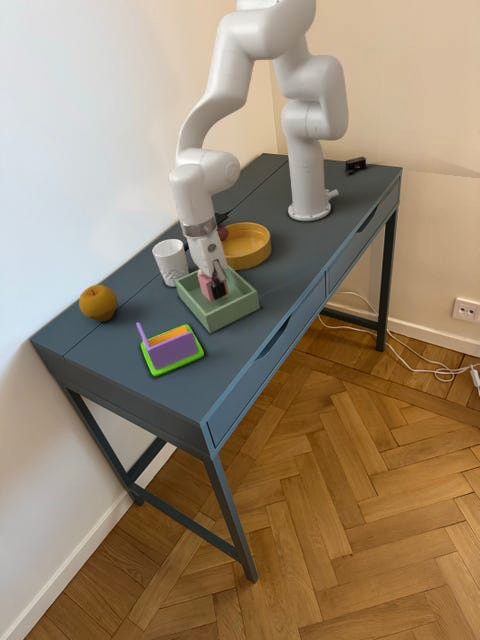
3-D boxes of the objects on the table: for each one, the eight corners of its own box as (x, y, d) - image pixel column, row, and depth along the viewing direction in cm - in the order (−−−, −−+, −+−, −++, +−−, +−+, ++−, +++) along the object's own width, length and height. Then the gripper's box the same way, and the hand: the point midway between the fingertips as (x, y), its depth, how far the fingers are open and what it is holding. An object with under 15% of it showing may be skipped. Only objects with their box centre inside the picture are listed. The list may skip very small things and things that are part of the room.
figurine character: (185, 240, 139) (220, 248, 129) (176, 218, 134) (212, 223, 125) (200, 230, 142) (235, 236, 133) (192, 207, 138) (228, 212, 128)
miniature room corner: (153, 378, 96) (143, 355, 92) (139, 344, 105) (130, 322, 100) (206, 356, 98) (199, 333, 94) (188, 324, 107) (181, 302, 103)
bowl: (251, 229, 135) (249, 215, 132) (284, 253, 123) (282, 239, 120) (199, 252, 130) (196, 238, 127) (228, 279, 118) (225, 265, 115)
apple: (87, 311, 118) (73, 284, 112) (121, 301, 118) (109, 273, 113) (88, 333, 111) (73, 305, 105) (124, 322, 112) (111, 293, 106)
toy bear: (220, 284, 112) (212, 250, 106) (229, 293, 109) (221, 258, 102) (200, 293, 111) (191, 259, 104) (209, 303, 107) (199, 268, 101)
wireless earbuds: (342, 170, 154) (342, 161, 152) (363, 165, 155) (363, 156, 153) (348, 176, 151) (348, 166, 149) (368, 170, 151) (369, 161, 149)
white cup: (196, 271, 123) (187, 239, 117) (184, 289, 118) (175, 257, 111) (170, 269, 126) (160, 238, 119) (158, 287, 121) (146, 255, 114)
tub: (225, 275, 120) (221, 259, 117) (260, 308, 108) (257, 291, 104) (179, 296, 116) (174, 280, 113) (210, 333, 104) (205, 316, 100)
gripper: (233, 232, 93) (246, 302, 105) (197, 204, 105) (212, 270, 117) (200, 246, 91) (217, 316, 102) (167, 216, 103) (186, 282, 114)
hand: (214, 290), depth 109 cm, fingers closed on toy bear, 4 cm apart
